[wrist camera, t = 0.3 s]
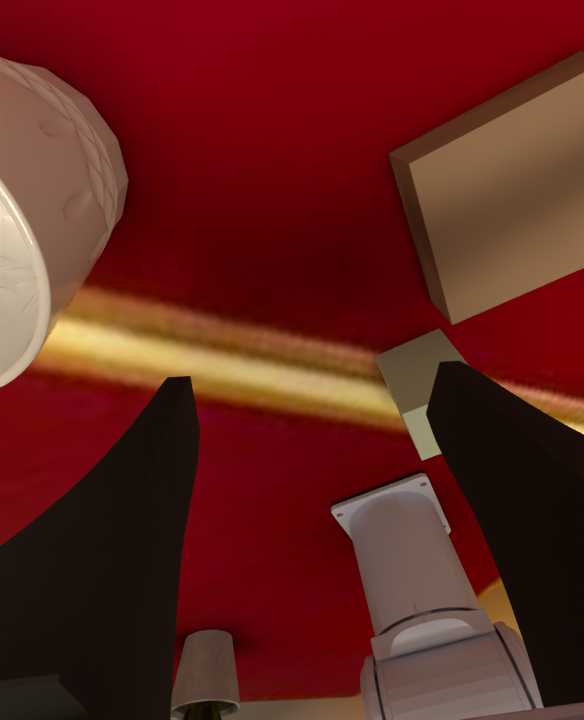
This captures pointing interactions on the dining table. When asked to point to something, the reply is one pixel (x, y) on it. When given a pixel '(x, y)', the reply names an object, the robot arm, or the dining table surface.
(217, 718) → the house plant
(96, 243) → the white cup
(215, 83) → the dining table surface
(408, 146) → the walnut base
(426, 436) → the green block
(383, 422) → the dining table surface
